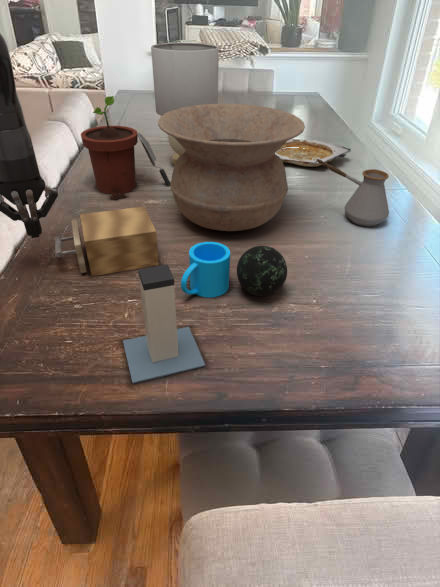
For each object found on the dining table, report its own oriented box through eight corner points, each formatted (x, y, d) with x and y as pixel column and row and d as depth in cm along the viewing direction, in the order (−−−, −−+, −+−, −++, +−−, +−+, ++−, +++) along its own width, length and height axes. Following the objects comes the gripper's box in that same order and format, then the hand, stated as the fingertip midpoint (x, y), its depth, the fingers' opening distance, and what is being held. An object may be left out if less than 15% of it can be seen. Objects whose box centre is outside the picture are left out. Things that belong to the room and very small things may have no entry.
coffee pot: (385, 213, 115) (400, 160, 106) (386, 232, 106) (403, 176, 97) (308, 203, 120) (316, 151, 111) (303, 220, 111) (312, 165, 102)
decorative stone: (281, 277, 89) (287, 237, 83) (286, 307, 81) (293, 264, 75) (235, 276, 89) (237, 235, 83) (235, 305, 81) (238, 262, 75)
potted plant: (115, 172, 136) (104, 89, 121) (171, 184, 129) (166, 97, 114) (78, 191, 123) (60, 100, 108) (138, 206, 116) (127, 111, 101)
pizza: (344, 176, 137) (351, 153, 154) (346, 164, 134) (353, 142, 151) (251, 165, 146) (268, 145, 163) (251, 153, 143) (268, 134, 160)
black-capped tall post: (152, 362, 68) (143, 284, 58) (147, 346, 71) (138, 269, 61) (178, 356, 69) (174, 278, 60) (172, 341, 72) (167, 264, 63)
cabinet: (91, 276, 88) (84, 241, 83) (86, 247, 98) (79, 214, 92) (158, 265, 92) (156, 231, 87) (147, 238, 102) (144, 206, 96)
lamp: (147, 166, 141) (136, 46, 120) (181, 150, 155) (177, 40, 134) (195, 178, 133) (193, 52, 112) (227, 161, 147) (231, 46, 125)
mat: (132, 384, 65) (132, 382, 65) (123, 342, 72) (122, 340, 72) (205, 366, 68) (205, 364, 68) (189, 328, 76) (188, 326, 75)
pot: (170, 191, 125) (165, 102, 110) (282, 193, 125) (293, 104, 110) (157, 249, 97) (148, 141, 82) (301, 251, 98) (318, 144, 83)
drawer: (59, 276, 86) (52, 248, 82) (58, 249, 95) (51, 222, 91) (144, 262, 91) (141, 235, 87) (135, 238, 100) (132, 212, 96)
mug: (208, 270, 91) (208, 237, 86) (236, 284, 87) (238, 251, 82) (168, 294, 84) (165, 260, 79) (197, 311, 79) (196, 276, 74)
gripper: (50, 142, 79) (68, 223, 90) (-26, 148, 76) (2, 232, 86) (50, 154, 74) (70, 240, 84) (-32, 161, 70) (-1, 249, 81)
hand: (35, 236), depth 85 cm, fingers closed
